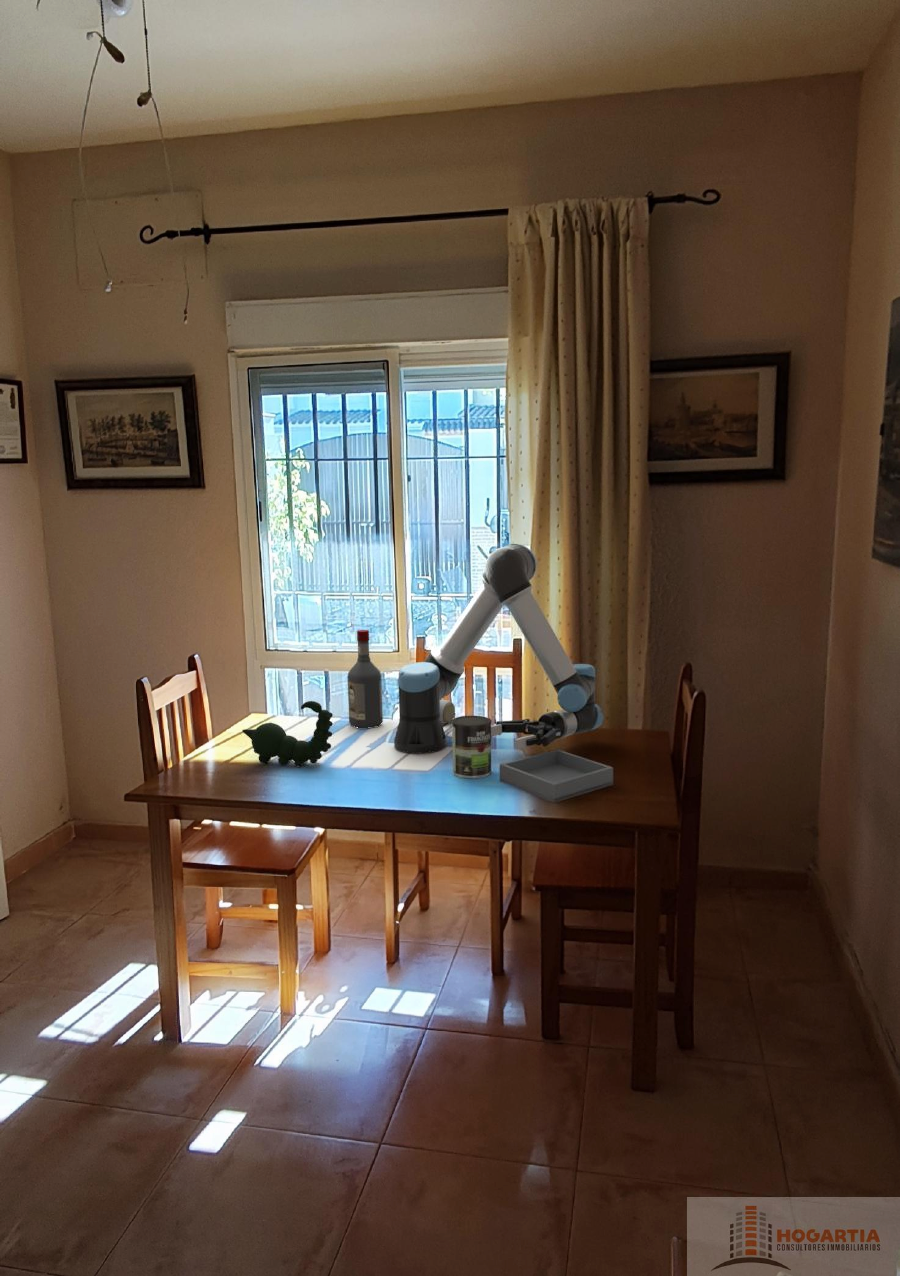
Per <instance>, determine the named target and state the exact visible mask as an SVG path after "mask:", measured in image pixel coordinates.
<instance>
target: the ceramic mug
mask: <svg viewBox="0 0 900 1276" xmlns="http://www.w3.org/2000/svg"><path fill="white" fill-rule="evenodd" d="M456 714H457V713H456V707H455V704H454V703H453V702H452V701H450V700H448V699H447V700H446V699H443V698H442V699H441V700H440V721H441V724H450V723H452V720H453V719H454V718H456Z"/></svg>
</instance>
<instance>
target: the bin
mask: <svg viewBox="0 0 900 1276" xmlns="http://www.w3.org/2000/svg"><path fill="white" fill-rule="evenodd" d="M499 782H501V783H502V784H505V785H508V786H510V787H513V788H515V789H518V790H520V791H523V792H526V793H528V794H531V795H533V796H536V797H537V798H538V797H539V798H541V799H543V800H545V801H547V802H551V803H553V804H556V803H558V802H562V801H565V800H567V799H572V798H574V797H578V796H581V795H585V794H588V793H591V792H594V791H597V790H601V789H604V788H608V787H610V786H613V785H614V767H612V766H611V765H607V764H604V763H601V762H597V761H595V760H591V759H589V758H585V757H583V756H579V755H576V754H573V753H570V752H567V751H565V750H562V749H553V750H550V751H546V752H545V751H544V752H541V753H537V754H534V755H530V756H525V757H522V758H520V759H519V758H518V759H515V760H511V761H508V762H502V763H500V764H499Z"/></svg>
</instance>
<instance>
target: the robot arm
mask: <svg viewBox="0 0 900 1276" xmlns="http://www.w3.org/2000/svg"><path fill="white" fill-rule="evenodd" d="M484 569H485V570H484V572H483V573H482V574H481V580H482V584H481V585H480V587H479V589H478V590H477V591H476V593H475V594H474V596H473V597H472V599H471V600H470V602H469V603H468V604H467V606H466V608H465V609H463V612H462V613H461V615H460V617H459V618H458V619H457V621H456V622H455V624H454V625H453V627H452V628H451V629H450V632H449V633H448V634H447V636H446V637H445V638H444V640H443V642H442V643H441V644H440V646H439V647H434V648H431V650H430V652H429V653H428V655H427V656H426V657H425V659H424V660H423V661H420V662H419V661H418V662H413V663H408V664H406V665H403V666H402V667H401V668H400V670H399V671H398V677H397V686H398V706H399V707H398V709H399V710H398V711H399V722H398V724H397V729H396V732H395V736H394V738H393V746H394V748H395V750H398V751H399V752H403V753H406V754H407V753H408V754H429V753H435V752H439V751H441V750H444V749H445V748H446V747H447V746H448V745H447V743H448V742H447V735H446V733H445V730H444V726H443V723H441V721H440V700H441V699H442V700H443V699H444V698H445V697H447V696H449V695H450V694H451V693H452V692H453V691H454V690H455V689H456V687H457V685H458V683H459V679H460V678H461V677H462V675H463V673H464V671H465V666H464V664H465V662H466V660H467V659H468V658H469V656H470V655H471V653H472V652H473V651H474V649H475V648H476V646H477V645H478V643H479V642H480V640H481V639H482V638H483V636H484V635H485V633H486V632H487V630H488V629H489V628H490V626H491V624H492V623H493V622H494V620H495V619H496V618H497V616H498V614H499V613H500V612H501V610H502V609H503V607H504V606H506V608H507V610H508V611H509V613H510V614H511V615H512V617H513V620H514V621H515V622H516V624H517V626H518V627H519V628H518V629H520V631H521V633H522V635H523V637H524V638H525V640H526V641H527V644H528V645H529V647H530V648H531V651H532V652H533V654H534V656H535V657H536V658H537V661H538V663H539V665H540V666H541V667H542V670H543V671H544V673H545V674H546V676H547V678H548V680H549V682H550V683H551V685H552V687H553V688H554V691H555V692H556V694H557V696H556V698H557V703H558V705H559V707H560V708H561V709H559V710H555V711H550V712H546V713H544V714H541V715H540V717H539V719H538V720H532V721H530V718H524V719H516V720H515V719H514V720H501V721H500V720H499V721H498V720H497V721H495V725H491V738H492V737H497V736H501V735H502V734H509V733H510V734H512V733H513V734H514V733H517V734H519V733H520V734H521V733H522V734H524V735H525V736H522V737H518V738H515V739H514V750H515V751H518V750H523V749H525V748H529V747H532V746H533V747H534V746H541V745H542V747H548V745H550V744H551V743H553V742H554V741H555V740H557V739H561V738H562V739H565V738H567V737H568V736H572V735H575V734H581V733H585V732H586V733H587V732H590V731H592V730H596V729H597V728H599V727H601V725H602V723H603V720H604V713H602V709H601V707H600V706H599V705H598V704H596V703H595V702H596V699H595V697H596V678H597V677H596V668H595V667H594V666H593V665H592V664H587V663H576V664H575V663H574V664H573V663H572V661H571V659H570V658H569V655H568V654H567V652H566V650H565V649H564V647H563V645H562V643H561V642H560V640H559V638H558V637H557V635H556V633H555V631H554V630H553V628H552V626H551V624H550V623H549V621H548V619H547V618H546V616H545V614H544V612H543V610H542V608H541V607H540V605H539V604H538V602H537V600H536V598H535V596H534V595H533V593H532V588H533V586H532V584H531V582H530V580H532V579H533V577H534V575H535V573H536V570H537V559H536V556H535V554H534V553H533V552H532V551H531V550H530V548H528V547H527V546H525V545H523V544H518V543H509V544H506V545H505V546H502V547H499V548H496V549H494V550H493V551H492V552H491V553H490V554H489V556H488V557H487V559H486V561H485V566H484ZM526 735H527V736H526Z"/></svg>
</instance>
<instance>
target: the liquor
mask: <svg viewBox="0 0 900 1276" xmlns="http://www.w3.org/2000/svg"><path fill="white" fill-rule="evenodd" d="M356 639H357V640H356V641H357V661H356V663H355V664H354V665H353V666H352V667H351V668H350V669H349V671H348V672H347V696H348V697H347V699H348V701H347V702H348V723H349V725H350V724H351V725H350V726H352V725H353V726H352V727H354V726H355V727H354V728H356V727H358V728H357V729H359V728H367V729H369V728H368V727H372V728H376V727H375V726H378V727H380V726H381V725H382V724H383V720H384V719H383V690H382V689H383V685H382V683H383V682H382V673H381V671H380V669H379V668H378V667H377V666H376V665H375V664H374V663H373V662H372V661H371V658H370V630H368V629H359V630H357V631H356ZM381 723H382V724H381ZM380 724H381V725H380ZM379 725H380V726H379Z"/></svg>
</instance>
